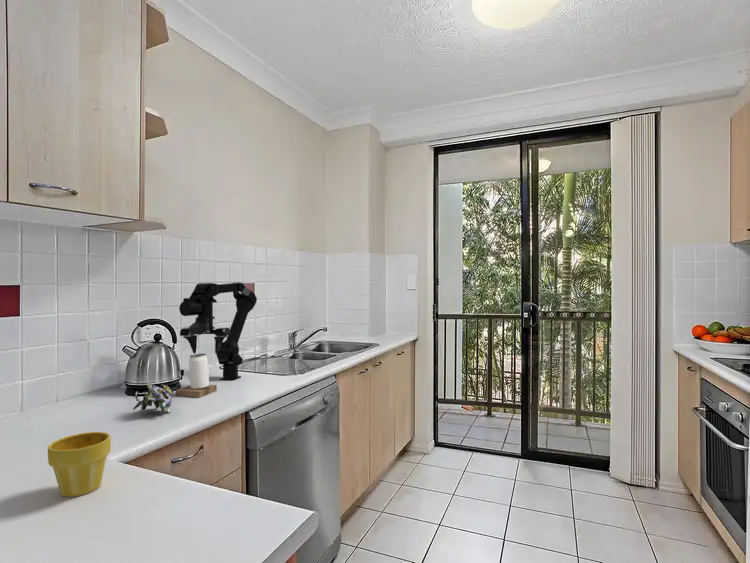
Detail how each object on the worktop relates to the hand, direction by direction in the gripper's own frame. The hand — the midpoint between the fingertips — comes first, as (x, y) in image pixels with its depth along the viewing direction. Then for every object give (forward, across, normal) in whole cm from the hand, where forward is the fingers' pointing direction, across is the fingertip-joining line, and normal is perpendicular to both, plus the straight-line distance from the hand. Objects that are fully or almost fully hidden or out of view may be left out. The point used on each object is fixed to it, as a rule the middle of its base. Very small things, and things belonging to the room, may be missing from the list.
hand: (205, 353), depth 172 cm
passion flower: (+13, +2, -37) cm, 39 cm away
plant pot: (+13, +19, -85) cm, 88 cm away
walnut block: (+14, +3, -12) cm, 18 cm away
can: (+11, +4, -12) cm, 16 cm away
